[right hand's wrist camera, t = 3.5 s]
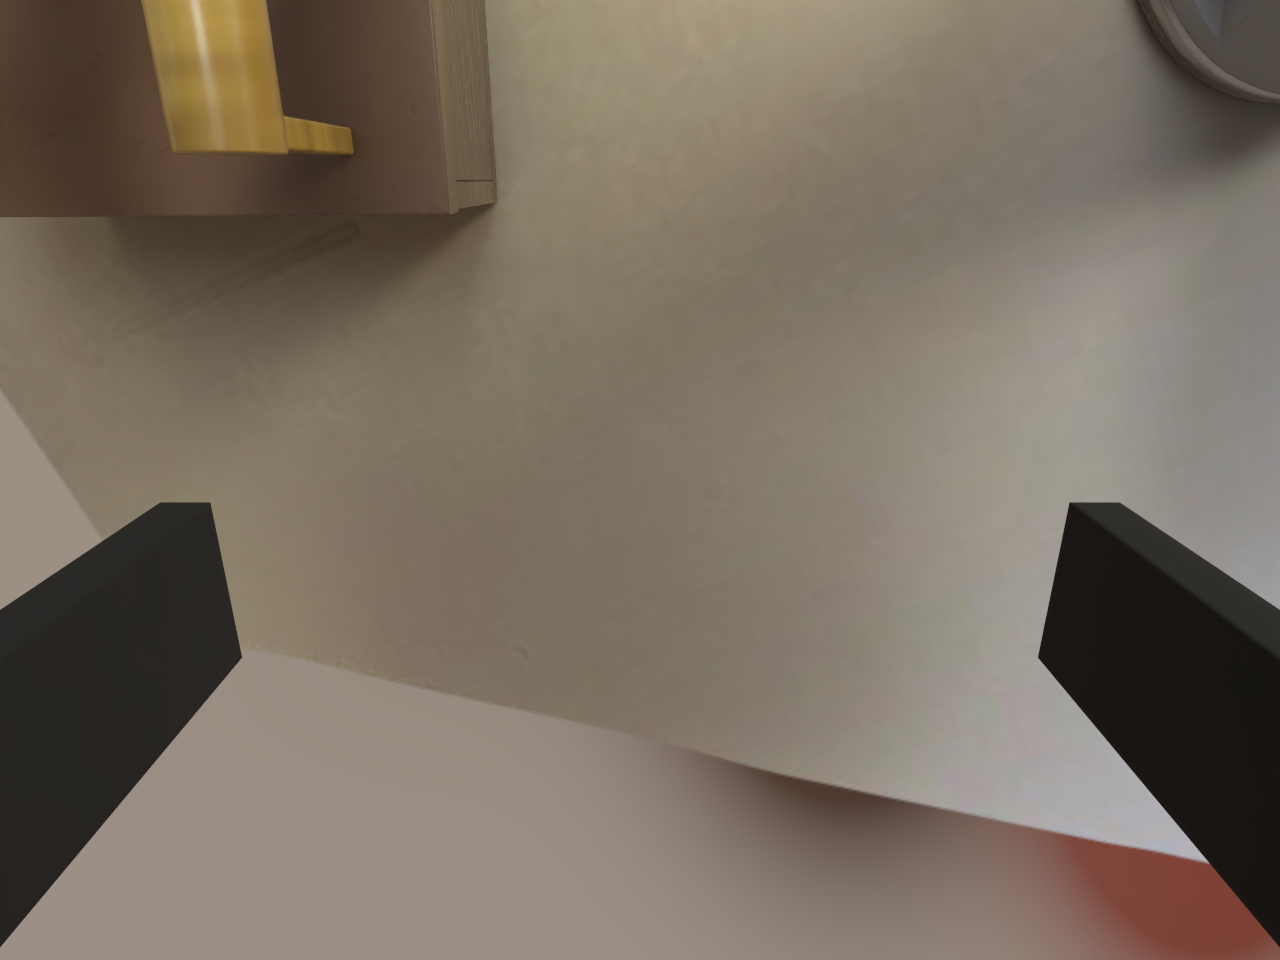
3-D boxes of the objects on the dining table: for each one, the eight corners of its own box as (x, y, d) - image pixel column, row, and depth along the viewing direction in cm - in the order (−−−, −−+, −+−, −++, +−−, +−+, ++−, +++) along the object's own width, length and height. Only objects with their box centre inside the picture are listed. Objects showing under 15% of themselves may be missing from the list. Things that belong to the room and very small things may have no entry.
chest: (480, -60, 30) (397, -186, 20) (497, 202, 34) (433, 213, 23) (40, -57, 31) (-275, -180, 20) (100, 205, 34) (-142, 216, 23)
